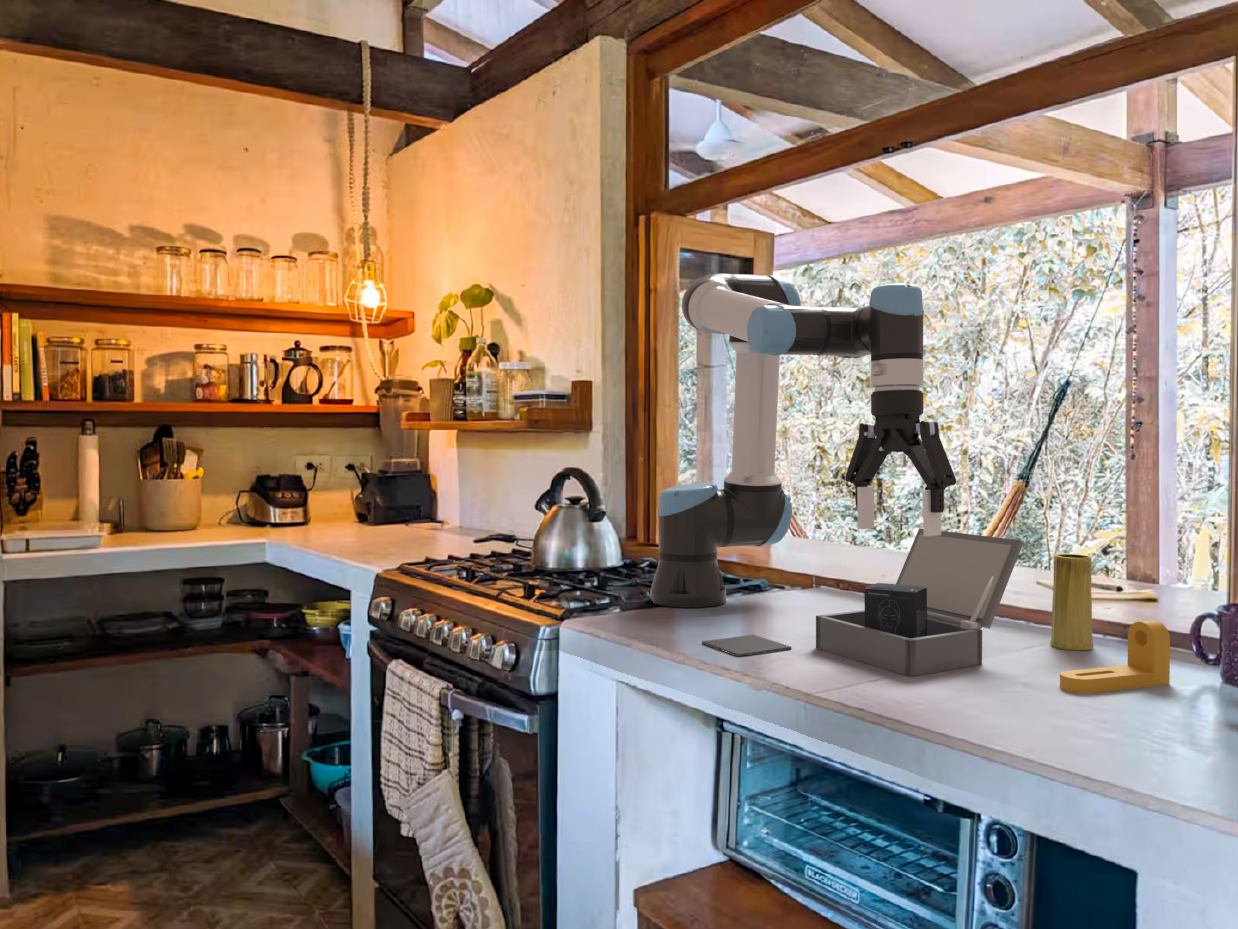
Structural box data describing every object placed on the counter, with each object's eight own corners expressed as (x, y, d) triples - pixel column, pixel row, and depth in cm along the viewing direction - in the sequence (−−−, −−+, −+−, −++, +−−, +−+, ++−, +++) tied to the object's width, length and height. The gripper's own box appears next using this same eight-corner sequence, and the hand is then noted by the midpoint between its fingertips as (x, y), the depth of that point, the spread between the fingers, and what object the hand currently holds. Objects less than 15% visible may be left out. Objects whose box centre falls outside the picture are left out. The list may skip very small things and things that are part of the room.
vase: (1090, 643, 149) (1091, 554, 149) (1096, 652, 144) (1097, 559, 143) (1048, 641, 151) (1049, 552, 151) (1052, 649, 146) (1053, 557, 145)
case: (815, 647, 148) (815, 535, 147) (921, 632, 158) (922, 528, 158) (910, 676, 130) (910, 549, 130) (1022, 657, 141) (1023, 540, 140)
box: (927, 655, 142) (927, 586, 142) (915, 663, 138) (915, 591, 137) (876, 649, 147) (877, 581, 147) (863, 656, 142) (863, 586, 142)
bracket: (1142, 677, 130) (1143, 617, 129) (1169, 685, 126) (1170, 623, 125) (1052, 687, 125) (1052, 625, 125) (1077, 695, 121) (1077, 631, 121)
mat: (702, 643, 151) (702, 641, 151) (753, 637, 156) (753, 634, 156) (738, 656, 142) (738, 654, 142) (791, 649, 147) (791, 646, 147)
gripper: (822, 393, 150) (823, 527, 151) (943, 383, 128) (943, 540, 128) (858, 394, 154) (859, 524, 154) (982, 385, 132) (982, 537, 132)
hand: (897, 532), depth 141 cm, fingers open, 13 cm apart
